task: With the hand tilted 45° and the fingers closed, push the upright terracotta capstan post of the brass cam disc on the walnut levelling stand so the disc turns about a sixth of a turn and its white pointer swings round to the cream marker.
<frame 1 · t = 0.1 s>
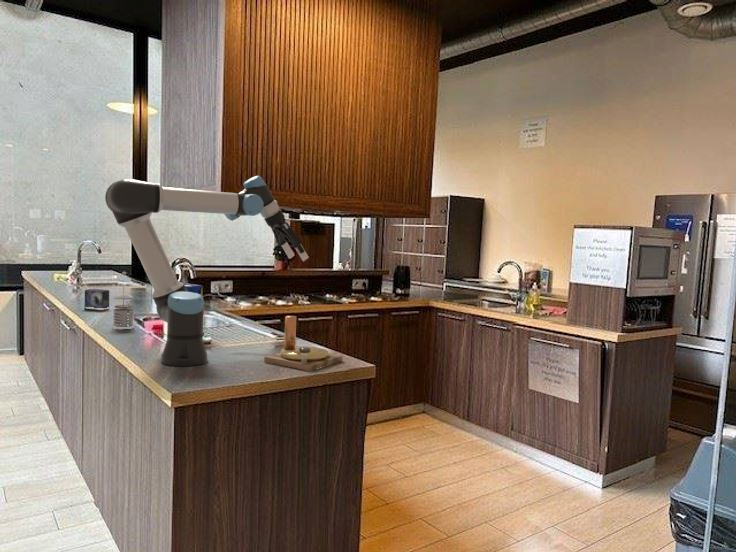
hand: (298, 258, 223), 36 cm above the table, tool tilted 35°, fingers open, 13 cm apart
small box: (96, 310, 290), on the table
french press: (124, 328, 243), on the table
cam disc: (305, 336, 197), point 9 cm above the table, hinge at 0.0°
beverage box: (186, 337, 231), on the table
levelling stand: (304, 361, 198), on the table
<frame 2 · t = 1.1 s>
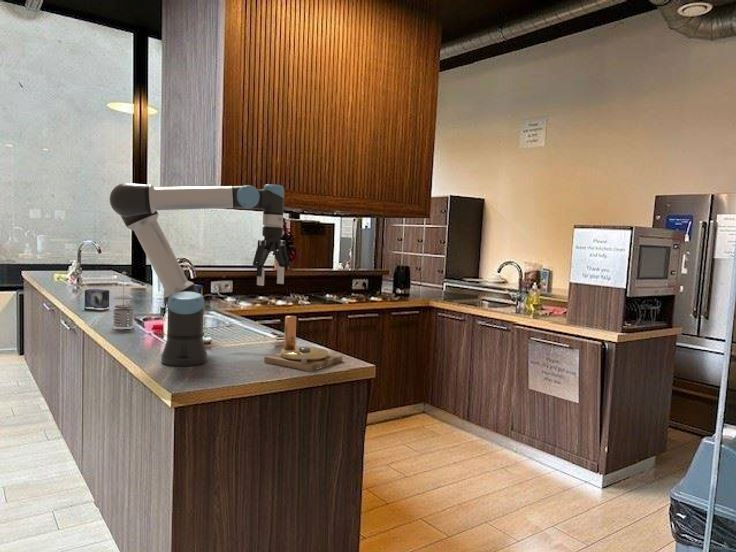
hand: (270, 284, 208), 26 cm above the table, tool pointing down, fingers open, 11 cm apart
nothing on the table moved.
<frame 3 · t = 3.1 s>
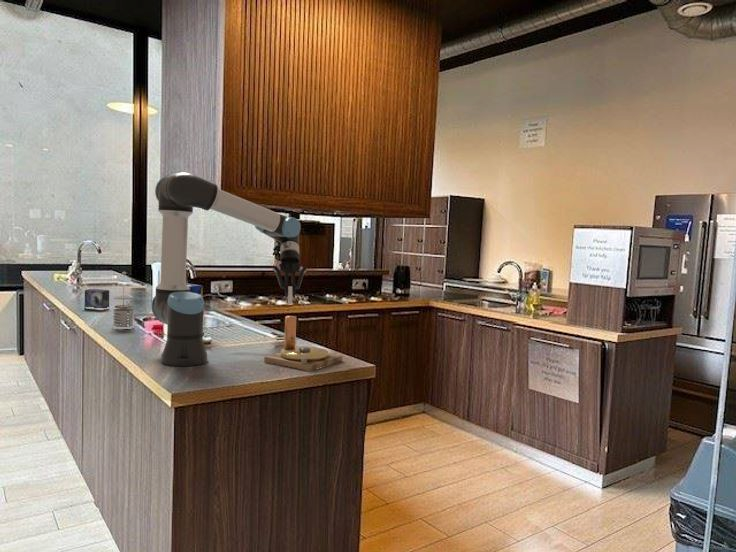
hand: (290, 302, 205), 20 cm above the table, tool tilted 45°, fingers closed
nothing on the table moved.
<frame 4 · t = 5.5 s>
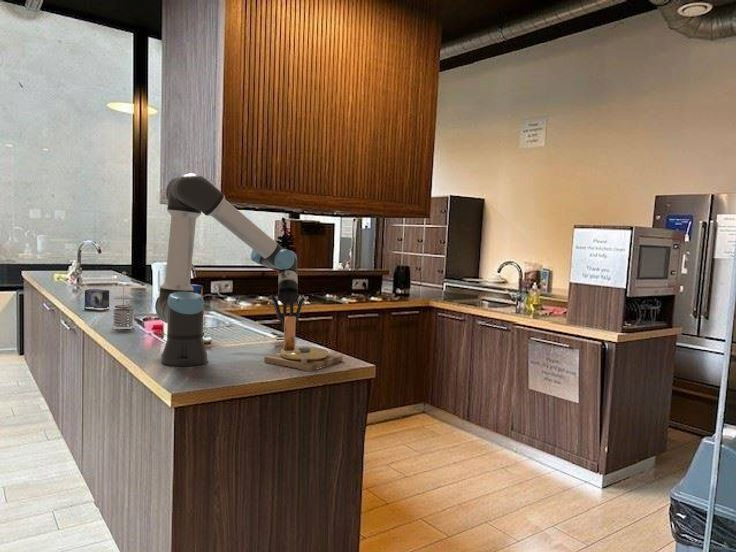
hand: (288, 335, 202), 8 cm above the table, tool tilted 45°, fingers closed
cam disc: (305, 336, 197), point 9 cm above the table, hinge at 5.3°, touching gripper
everything else where it was.
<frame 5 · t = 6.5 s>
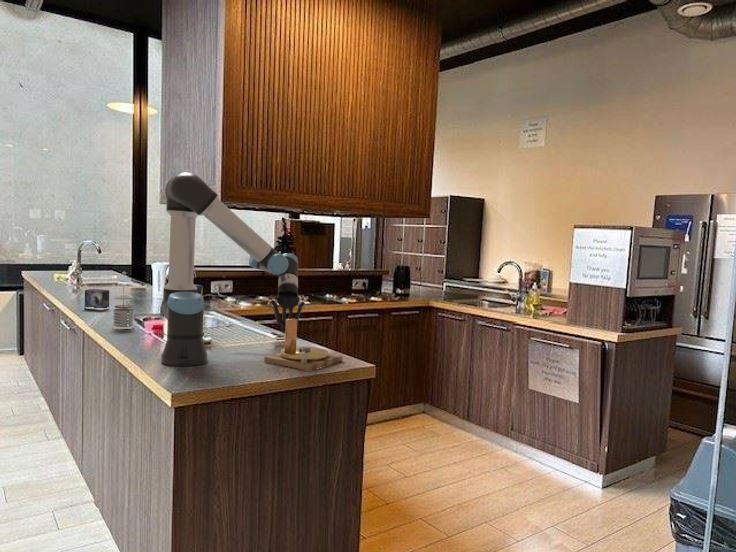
hand: (286, 340, 197), 8 cm above the table, tool tilted 45°, fingers closed
cam disc: (305, 336, 197), point 9 cm above the table, hinge at 58.6°, touching gripper
everything else where it was.
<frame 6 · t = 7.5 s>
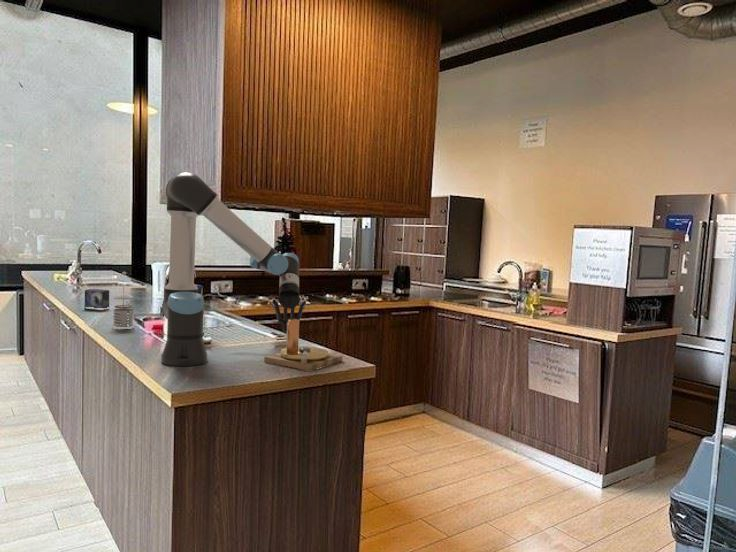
hand: (288, 339, 196), 8 cm above the table, tool tilted 45°, fingers closed
cam disc: (305, 336, 197), point 9 cm above the table, hinge at 70.4°
everything else where it was.
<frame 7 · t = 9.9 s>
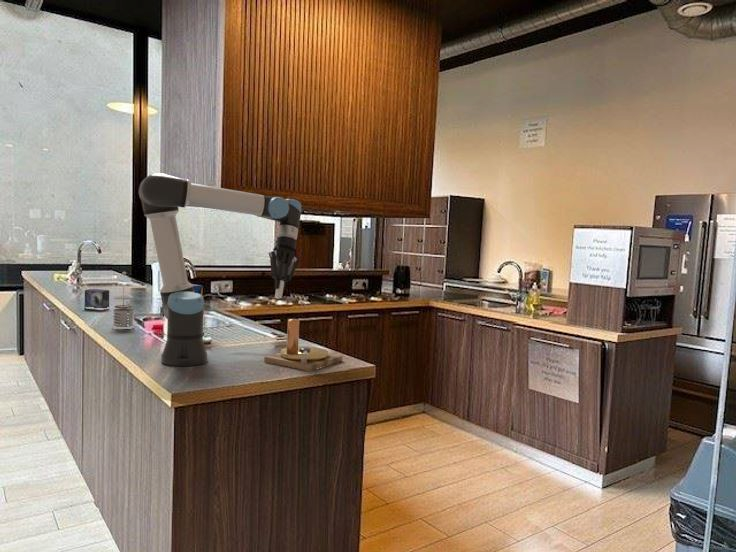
hand: (278, 297, 206), 21 cm above the table, tool tilted 20°, fingers closed
nothing on the table moved.
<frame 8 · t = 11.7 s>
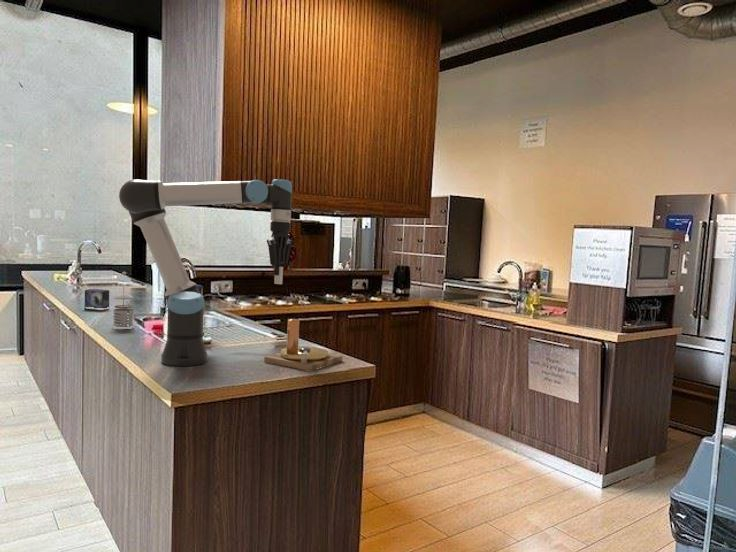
hand: (278, 283, 209), 26 cm above the table, tool pointing down, fingers closed
nothing on the table moved.
at the end: cam disc at +70° (first picture: +0°); the gripper is holding nothing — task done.
